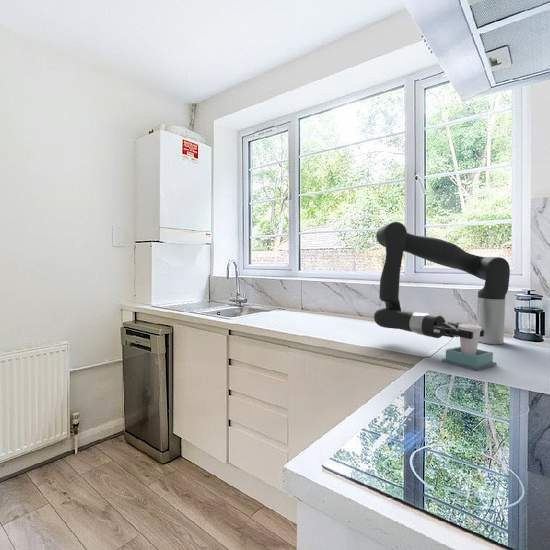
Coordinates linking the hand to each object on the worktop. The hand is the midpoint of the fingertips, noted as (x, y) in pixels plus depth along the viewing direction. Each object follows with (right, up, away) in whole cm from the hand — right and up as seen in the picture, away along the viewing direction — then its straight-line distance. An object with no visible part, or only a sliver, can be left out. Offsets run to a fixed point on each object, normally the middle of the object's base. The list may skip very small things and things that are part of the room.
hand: (477, 334), depth 105 cm
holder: (-1, -9, +2) cm, 10 cm away
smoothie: (-2, -8, +2) cm, 8 cm away
